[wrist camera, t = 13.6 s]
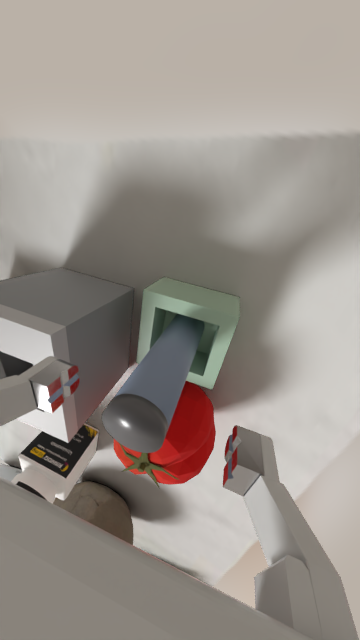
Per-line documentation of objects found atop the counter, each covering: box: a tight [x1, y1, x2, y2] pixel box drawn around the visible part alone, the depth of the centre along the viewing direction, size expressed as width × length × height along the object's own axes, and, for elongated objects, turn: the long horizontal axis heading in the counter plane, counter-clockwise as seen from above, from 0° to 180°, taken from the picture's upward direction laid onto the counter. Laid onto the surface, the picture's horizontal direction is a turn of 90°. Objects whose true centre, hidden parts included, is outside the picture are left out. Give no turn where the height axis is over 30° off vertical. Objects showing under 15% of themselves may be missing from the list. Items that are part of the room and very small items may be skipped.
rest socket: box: [136, 277, 240, 390], centre depth 16 cm, size 7×7×4 cm
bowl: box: [53, 481, 133, 545], centre depth 36 cm, size 17×18×10 cm
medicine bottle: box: [11, 423, 99, 504], centre depth 27 cm, size 7×7×12 cm
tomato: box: [114, 381, 216, 489], centre depth 18 cm, size 9×10×8 cm
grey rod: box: [102, 314, 205, 453], centre depth 12 cm, size 3×3×10 cm
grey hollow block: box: [0, 268, 134, 443], centre depth 17 cm, size 8×10×9 cm
